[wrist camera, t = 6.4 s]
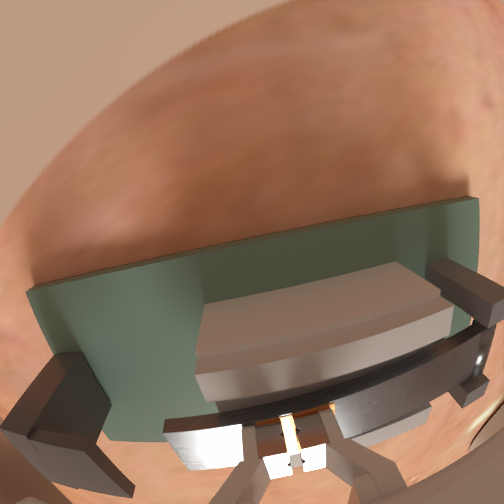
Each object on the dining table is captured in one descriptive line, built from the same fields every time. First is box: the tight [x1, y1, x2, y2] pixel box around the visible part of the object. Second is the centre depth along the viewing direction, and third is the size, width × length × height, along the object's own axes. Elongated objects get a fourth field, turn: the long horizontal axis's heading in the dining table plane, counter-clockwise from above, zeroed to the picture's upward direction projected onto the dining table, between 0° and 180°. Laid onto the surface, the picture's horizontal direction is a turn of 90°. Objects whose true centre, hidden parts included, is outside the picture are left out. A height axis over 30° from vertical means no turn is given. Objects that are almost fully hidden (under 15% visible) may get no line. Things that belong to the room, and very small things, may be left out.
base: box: [26, 196, 504, 468], centre depth 12 cm, size 28×13×7 cm, turn 101°
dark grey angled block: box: [0, 352, 135, 498], centre depth 11 cm, size 6×4×7 cm
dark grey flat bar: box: [163, 319, 496, 471], centre depth 10 cm, size 16×3×1 cm, turn 101°
